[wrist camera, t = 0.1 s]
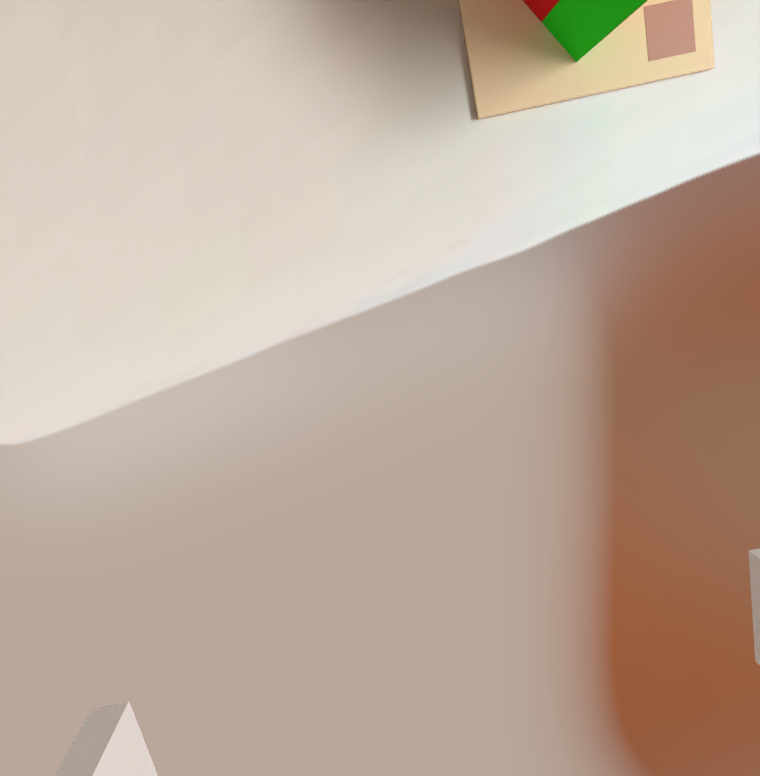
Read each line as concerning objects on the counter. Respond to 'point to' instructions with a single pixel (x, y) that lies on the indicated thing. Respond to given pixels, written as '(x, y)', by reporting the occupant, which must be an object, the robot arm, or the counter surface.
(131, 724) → the robot arm
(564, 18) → the puzzle toy
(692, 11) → the letter card
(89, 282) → the counter surface
